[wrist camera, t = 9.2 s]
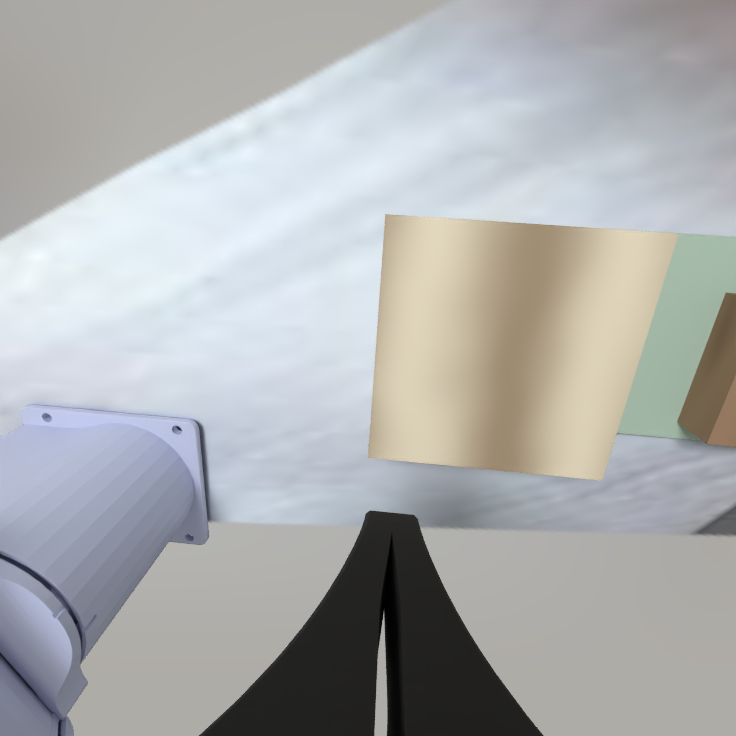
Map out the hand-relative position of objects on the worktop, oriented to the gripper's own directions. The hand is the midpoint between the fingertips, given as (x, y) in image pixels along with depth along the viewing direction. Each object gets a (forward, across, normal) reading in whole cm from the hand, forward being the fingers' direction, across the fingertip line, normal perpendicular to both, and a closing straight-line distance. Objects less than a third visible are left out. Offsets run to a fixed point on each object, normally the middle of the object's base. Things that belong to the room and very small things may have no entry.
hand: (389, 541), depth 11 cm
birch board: (+9, -4, -4) cm, 11 cm away
